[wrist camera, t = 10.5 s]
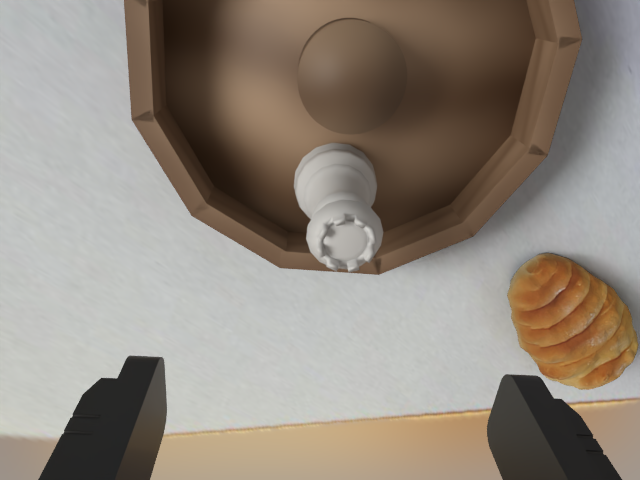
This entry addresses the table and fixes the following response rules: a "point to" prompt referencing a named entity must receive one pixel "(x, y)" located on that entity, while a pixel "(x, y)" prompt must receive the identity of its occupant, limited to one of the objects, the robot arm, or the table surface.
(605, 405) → the table surface
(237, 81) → the ring tray
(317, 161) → the rook chess piece
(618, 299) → the pastry
